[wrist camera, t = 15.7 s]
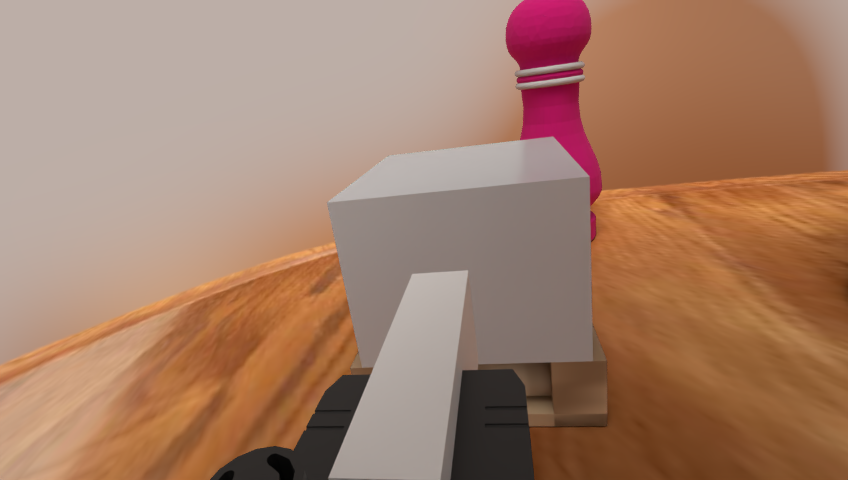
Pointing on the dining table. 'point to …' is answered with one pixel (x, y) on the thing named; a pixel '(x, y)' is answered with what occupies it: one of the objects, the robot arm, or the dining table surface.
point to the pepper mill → (554, 77)
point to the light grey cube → (475, 245)
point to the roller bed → (555, 389)
